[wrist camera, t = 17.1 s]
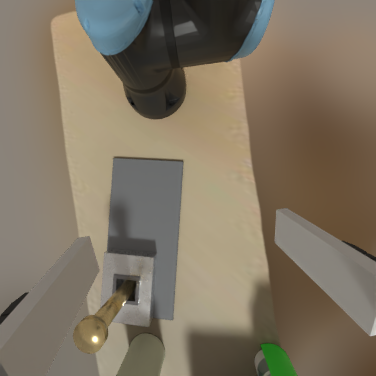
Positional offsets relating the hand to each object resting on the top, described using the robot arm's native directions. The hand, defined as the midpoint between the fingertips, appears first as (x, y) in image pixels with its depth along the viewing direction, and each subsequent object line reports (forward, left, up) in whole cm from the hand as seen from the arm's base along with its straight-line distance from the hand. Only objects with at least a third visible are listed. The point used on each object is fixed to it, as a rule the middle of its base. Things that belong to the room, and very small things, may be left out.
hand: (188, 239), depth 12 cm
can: (+38, -11, -31) cm, 50 cm away
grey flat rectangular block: (+21, -16, -30) cm, 40 cm away
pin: (+21, -16, -30) cm, 40 cm away
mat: (+9, -14, -31) cm, 35 cm away
